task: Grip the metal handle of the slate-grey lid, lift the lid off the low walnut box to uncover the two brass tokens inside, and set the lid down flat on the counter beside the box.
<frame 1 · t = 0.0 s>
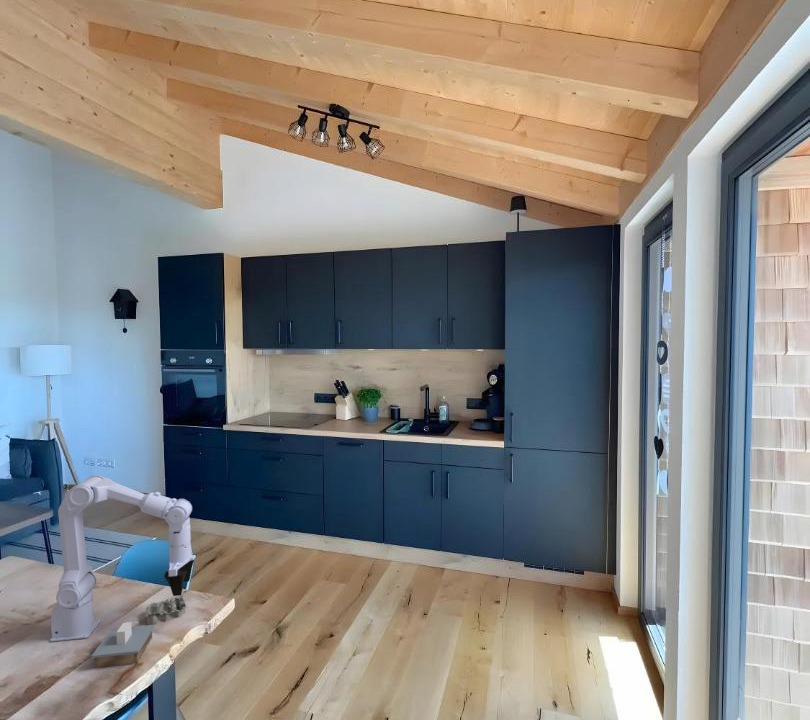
hand: (181, 587, 137), 10 cm above the table, tool pointing down, fingers open, 7 cm apart
egg carton: (165, 616, 141), on the table
box: (125, 652, 124), on the table
lid: (124, 641, 124), point 3 cm above the table, touching box
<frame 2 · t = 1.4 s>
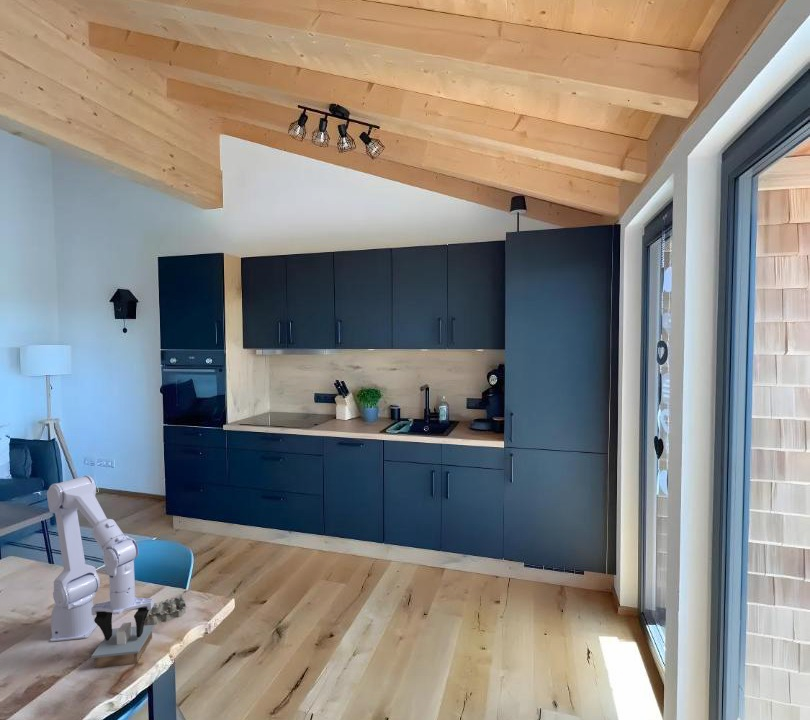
hand: (124, 636, 124), 4 cm above the table, tool pointing down, fingers open, 7 cm apart
nothing on the table moved.
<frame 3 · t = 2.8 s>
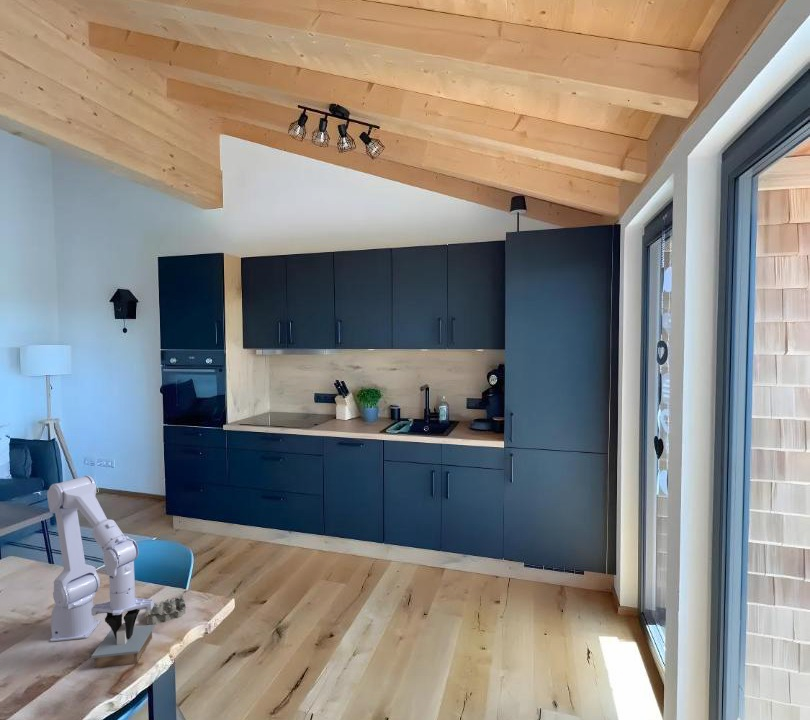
hand: (124, 637, 124), 4 cm above the table, tool pointing down, fingers closed on lid, 2 cm apart
lid: (124, 641, 124), point 3 cm above the table, touching box, gripper
everything else where it was.
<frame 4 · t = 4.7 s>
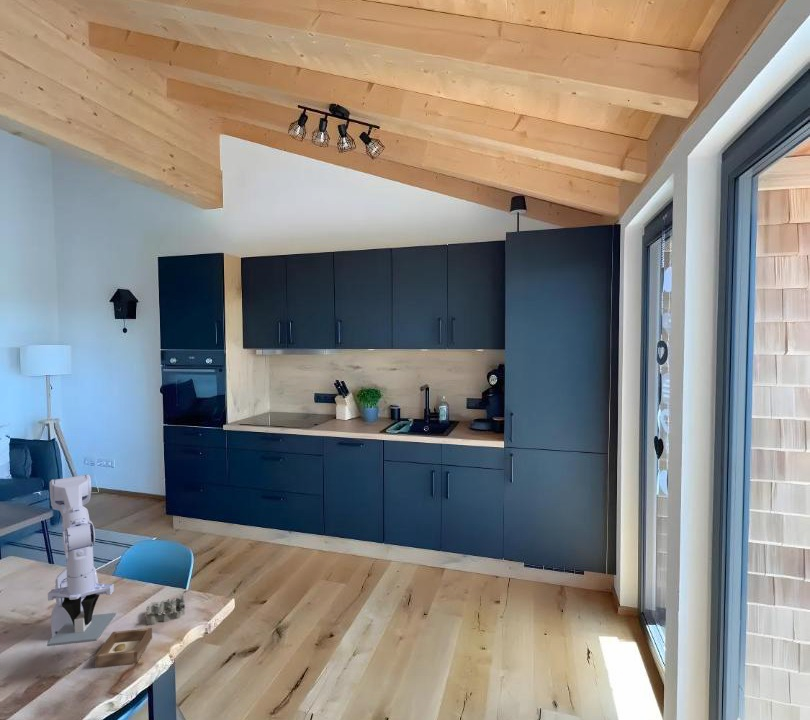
hand: (82, 623, 120), 10 cm above the table, tool pointing down, fingers closed on lid
lid: (83, 629, 120), point 9 cm above the table, touching gripper
everything else where it was.
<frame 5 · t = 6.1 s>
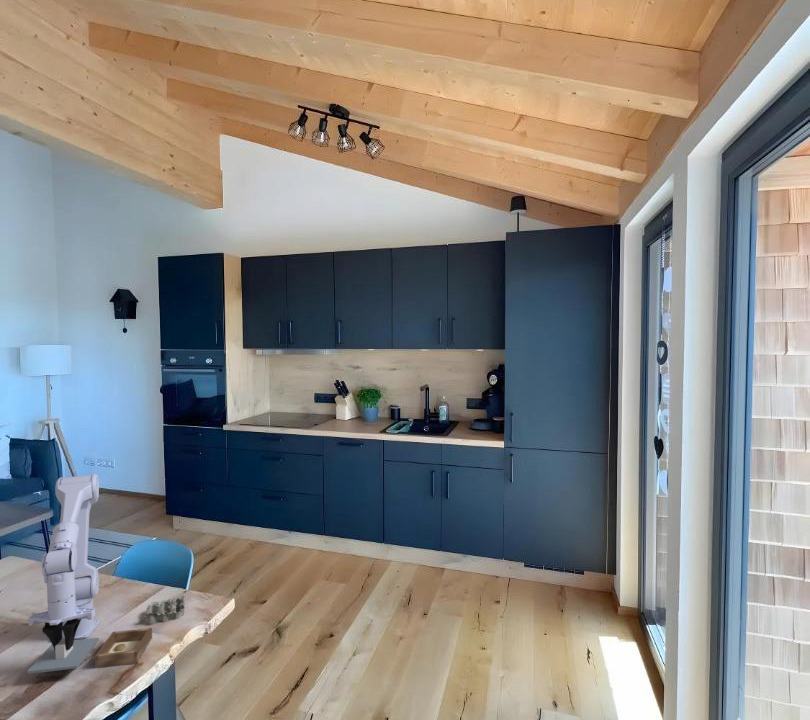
hand: (64, 647, 119), 5 cm above the table, tool pointing down, fingers closed on lid, 2 cm apart
lid: (64, 655, 119), point 3 cm above the table, touching gripper
everything else where it was.
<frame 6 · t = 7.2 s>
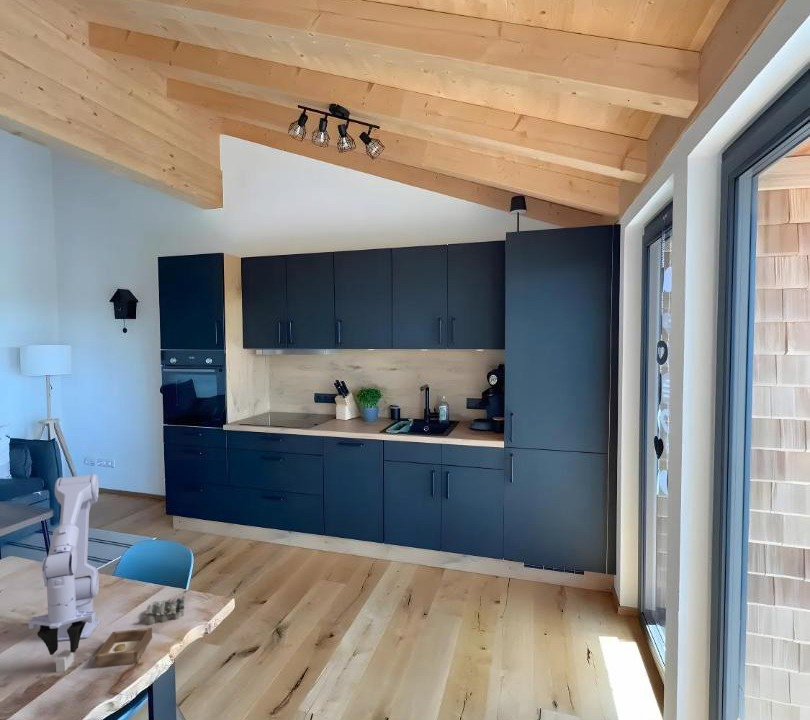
hand: (64, 651, 119), 4 cm above the table, tool pointing down, fingers open, 4 cm apart
lid: (65, 668, 119), on the table
everything else where it was.
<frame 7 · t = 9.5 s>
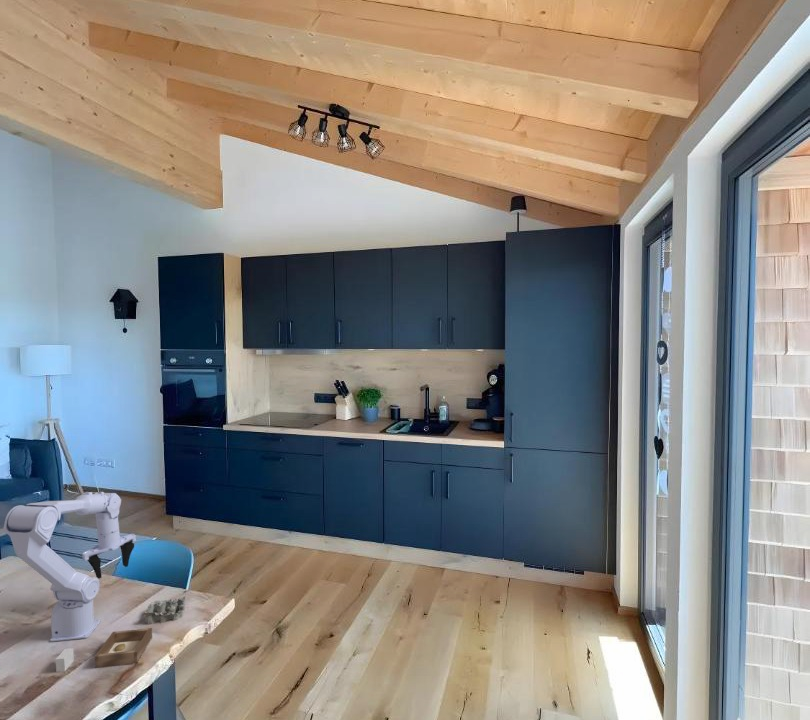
hand: (112, 571, 146), 11 cm above the table, tool pointing down, fingers open, 7 cm apart
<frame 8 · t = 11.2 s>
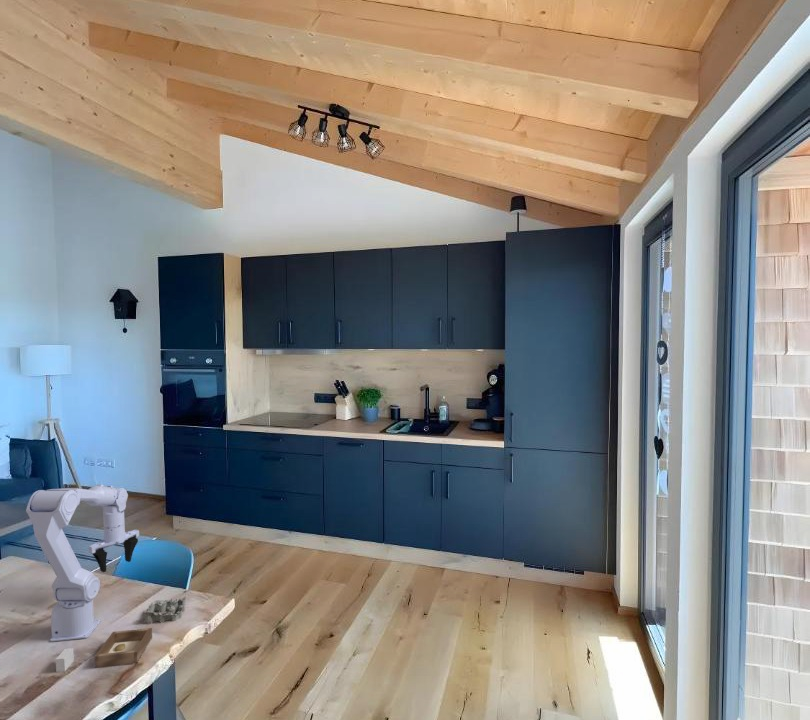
hand: (115, 566, 150), 10 cm above the table, tool pointing down, fingers open, 7 cm apart
at the end: lid inside the target area (0.3 cm from its centre), on the table; lid touching table; lid tilted 0° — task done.
